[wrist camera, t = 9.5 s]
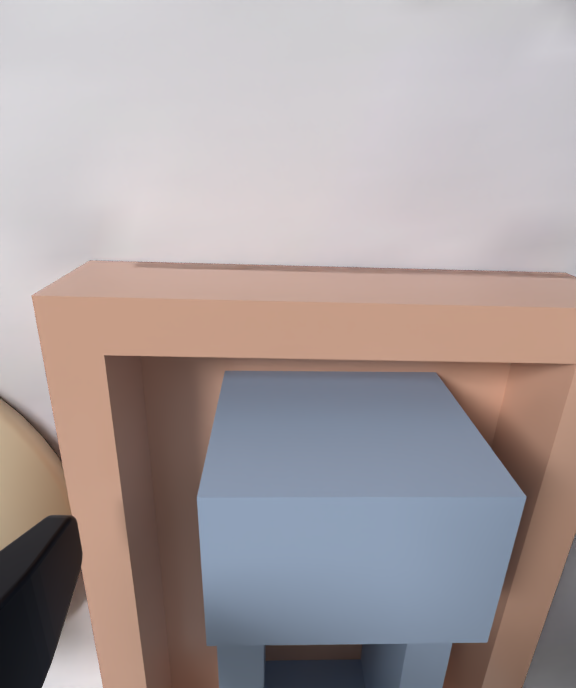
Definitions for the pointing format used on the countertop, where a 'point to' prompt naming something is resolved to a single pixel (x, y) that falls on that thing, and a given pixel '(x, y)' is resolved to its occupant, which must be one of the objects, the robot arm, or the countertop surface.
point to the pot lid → (27, 477)
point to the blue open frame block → (349, 527)
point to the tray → (290, 355)
